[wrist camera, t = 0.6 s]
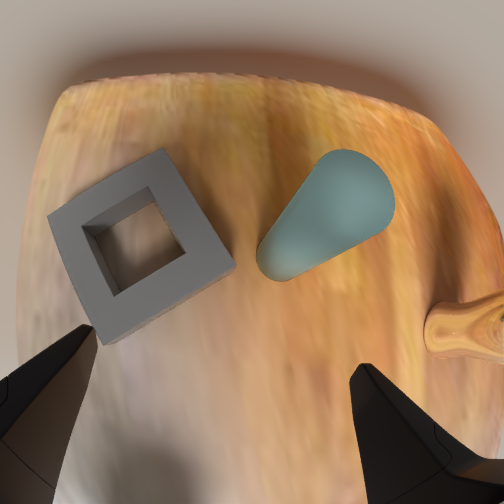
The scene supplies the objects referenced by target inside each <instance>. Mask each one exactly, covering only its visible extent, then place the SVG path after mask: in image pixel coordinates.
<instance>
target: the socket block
mask: <svg viewBox="0 0 504 504" xmlns="http://www.w3.org/2000/svg"><path fill="white" fill-rule="evenodd" d="M152 202H155V204H156V206H157V207H158V209H159V211H160V213H161V215H162V216H163V218H164V220H165V222H166V223H167V225H168V227H169V229H170V231H171V232H172V234H173V236H174V237H175V239H176V241H177V243H178V244H179V246H180V248H181V249H182V251H183V253H184V255H182V256H180V257H179V258H177V259H175V260H174V261H172V262H170V263H169V264H167V265H165V266H164V267H162V268H160V269H159V270H157V271H155V272H154V273H152V274H150V275H149V276H147V277H145V278H144V279H142V280H140V281H139V282H137V283H135V284H134V285H132V286H130V287H129V288H127V289H126V290H124V291H122V292H120V290H119V288H118V286H117V284H116V282H115V280H114V278H113V276H112V274H111V272H110V270H109V268H108V266H107V264H106V262H105V260H104V258H103V256H102V253H101V251H100V249H99V247H98V245H97V242H96V240H95V238H94V237H95V236H97V235H98V234H100V233H101V232H103V231H104V230H106V229H108V228H109V227H111V226H113V225H114V224H116V223H117V222H119V221H121V220H122V219H124V218H126V217H128V216H129V215H131V214H133V213H134V212H136V211H138V210H139V209H141V208H143V207H145V206H146V205H148V204H150V203H152ZM47 218H48V221H49V225H50V228H51V230H52V233H53V236H54V239H55V242H56V245H57V247H58V250H59V253H60V255H61V258H62V260H63V263H64V265H65V268H66V270H67V273H68V275H69V277H70V280H71V282H72V284H73V287H74V289H75V291H76V293H77V296H78V298H79V300H80V302H81V304H82V306H83V308H84V310H85V312H86V314H87V316H88V318H89V320H90V322H91V324H92V326H93V327H94V328H95V332H96V334H97V336H98V337H99V339H100V341H101V343H102V345H103V346H104V345H109V344H114V343H116V342H118V341H120V340H121V339H123V338H125V337H126V336H128V335H130V334H131V333H133V332H135V331H136V330H138V329H140V328H141V327H143V326H145V325H146V324H148V323H150V322H151V321H153V320H155V319H156V318H158V317H160V316H161V315H163V314H165V313H166V312H168V311H170V310H171V309H173V308H175V307H176V306H178V305H179V304H181V303H183V302H184V301H186V300H188V299H189V298H191V297H193V296H194V295H196V294H198V293H199V292H201V291H203V290H204V289H206V288H207V287H209V286H211V285H212V284H214V283H216V282H217V281H219V280H221V279H222V278H224V277H225V276H227V275H229V274H230V273H232V272H233V270H234V269H235V267H236V263H235V262H234V260H233V259H232V257H231V256H230V254H229V252H228V251H227V249H226V248H225V246H224V245H223V243H222V241H221V240H220V238H219V237H218V235H217V233H216V232H215V230H214V229H213V227H212V225H211V224H210V222H209V221H208V219H207V217H206V216H205V214H204V213H203V211H202V209H201V208H200V206H199V205H198V203H197V201H196V200H195V198H194V196H193V195H192V193H191V192H190V190H189V188H188V187H187V185H186V183H185V182H184V180H183V179H182V177H181V175H180V174H179V172H178V170H177V169H176V167H175V165H174V164H173V162H172V161H171V159H170V157H169V156H168V154H167V152H166V151H165V149H164V147H163V148H161V149H159V150H157V151H155V152H153V153H151V154H149V155H147V156H145V157H144V158H142V159H140V160H138V161H136V162H134V163H132V164H130V165H129V166H127V167H125V168H123V169H121V170H120V171H118V172H116V173H114V174H113V175H111V176H109V177H107V178H106V179H104V180H102V181H101V182H99V183H97V184H96V185H94V186H92V187H91V188H89V189H88V190H86V191H84V192H83V193H81V194H80V195H78V196H77V197H75V198H73V199H72V200H70V201H69V202H67V203H66V204H64V205H63V206H61V207H60V208H59V209H57V210H56V211H54V212H53V213H51V214H50V215H48V216H47Z"/></svg>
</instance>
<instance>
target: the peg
mask: <svg viewBox="0 0 504 504" xmlns="http://www.w3.org/2000/svg"><path fill="white" fill-rule="evenodd" d="M394 210H395V198H394V192H393V189H392V186H391V184H390V182H389V180H388V178H387V176H386V175H385V173H384V172H383V171H382V169H381V168H380V167H379V166H378V165H377V164H376V163H375V162H374V161H372V160H371V159H370V158H368V157H367V156H365V155H363V154H361V153H359V152H356V151H352V150H345V149H341V150H334V151H331V152H329V153H327V154H325V155H324V156H323V157H322V158H321V159H320V160H319V161H318V163H317V164H316V165H315V167H314V168H313V170H312V171H311V172H310V174H309V175H308V177H307V178H306V179H305V181H304V182H303V184H302V185H301V187H300V188H299V189H298V191H297V192H296V194H295V195H294V196H293V198H292V199H291V201H290V202H289V203H288V205H287V206H286V208H285V209H284V210H283V212H282V213H281V215H280V216H279V217H278V219H277V220H276V222H275V223H274V224H273V226H272V227H271V229H270V230H269V231H268V233H267V234H266V236H265V237H264V239H263V240H262V241H261V243H260V244H259V246H258V248H257V252H256V260H257V264H258V267H259V269H260V270H261V272H262V273H263V274H264V275H265V276H266V277H268V278H269V279H272V280H274V281H288V280H290V279H292V278H294V277H296V276H298V275H300V274H302V273H304V272H306V271H308V270H310V269H312V268H314V267H316V266H318V265H320V264H322V263H324V262H326V261H327V260H329V259H331V258H333V257H335V256H337V255H339V254H341V253H343V252H344V251H346V250H348V249H350V248H352V247H354V246H356V245H357V244H359V243H361V242H363V241H365V240H367V239H369V238H370V237H372V236H374V235H376V234H378V233H379V232H381V231H383V230H384V229H385V228H386V227H387V226H388V225H389V223H390V222H391V220H392V218H393V215H394Z"/></svg>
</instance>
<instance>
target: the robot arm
mask: <svg viewBox="0 0 504 504" xmlns="http://www.w3.org/2000/svg"><path fill="white" fill-rule="evenodd" d="M97 348H98V344H97V338H96V332H95V328H94V327H93V326H89V325H85V324H82V325H80V326H79V327H77V328H76V329H74V330H73V331H71V332H70V333H68V334H67V335H65V336H64V337H62V338H61V339H59V340H58V341H56V342H55V343H54V344H52V345H51V346H49V347H48V348H46V349H45V350H43V351H42V352H40V353H39V354H37V355H36V356H35V357H33V358H32V359H30V360H29V361H27V362H26V363H25V364H23V365H22V366H20V367H19V368H17V369H16V370H15V371H13V372H12V373H10V374H9V375H8V376H6V377H5V378H3V379H2V380H1V381H0V504H52V503H53V499H54V495H55V489H56V486H57V482H58V478H59V474H60V470H61V467H62V463H63V460H64V456H65V453H66V449H67V446H68V443H69V440H70V436H71V433H72V430H73V427H74V424H75V421H76V418H77V415H78V413H79V410H80V407H81V404H82V401H83V399H84V396H85V393H86V390H87V387H88V383H89V379H90V375H91V371H92V368H93V364H94V360H95V357H96V353H97ZM349 385H350V394H351V403H352V414H353V421H354V426H355V431H356V436H357V441H358V447H359V452H360V458H361V463H362V469H363V475H364V481H365V487H366V494H367V500H368V504H504V459H487V458H483V457H481V456H478V455H477V454H475V453H474V452H473V451H471V450H470V449H469V448H467V447H466V446H465V445H463V444H462V443H461V442H459V441H458V440H457V439H455V438H454V437H453V436H451V435H450V434H449V433H448V432H447V431H445V430H444V429H443V428H442V427H441V426H440V425H439V424H437V423H436V422H435V421H434V420H433V419H432V418H431V417H430V416H429V415H427V414H426V413H425V412H424V411H423V410H422V409H421V408H420V407H419V406H417V405H416V404H415V403H414V402H413V401H412V400H411V399H410V398H409V397H408V396H406V395H405V394H404V393H403V392H402V391H401V390H400V389H399V388H398V387H396V386H395V385H394V384H393V383H392V382H391V381H390V380H389V379H388V378H387V377H385V376H384V375H383V374H382V373H381V372H380V371H379V370H378V369H377V368H376V367H374V366H373V365H372V364H370V363H361V364H359V366H358V367H357V369H356V370H355V372H354V373H353V375H352V376H351V378H350V382H349Z"/></svg>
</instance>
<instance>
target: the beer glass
mask: <svg viewBox="0 0 504 504" xmlns="http://www.w3.org/2000/svg"><path fill="white" fill-rule="evenodd" d="M424 341H425V345H426V348H427V350H428V352H429V353H430V354H431V355H432V356H433V357H435V358H437V359H446V358H451V357H456V356H466V357H471V358H475V359H479V360H482V361H486V362H490V363H494V364H498V365H504V287H503V288H500V289H497V290H495V291H493V292H491V293H488V294H486V295H484V296H482V297H480V298H477V299H475V300H472V301H469V302H465V303H453V302H441V303H438V304H436V305H435V306H434V307H433V308H432V309H431V310H430V312H429V314H428V316H427V318H426V322H425V326H424Z"/></svg>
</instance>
